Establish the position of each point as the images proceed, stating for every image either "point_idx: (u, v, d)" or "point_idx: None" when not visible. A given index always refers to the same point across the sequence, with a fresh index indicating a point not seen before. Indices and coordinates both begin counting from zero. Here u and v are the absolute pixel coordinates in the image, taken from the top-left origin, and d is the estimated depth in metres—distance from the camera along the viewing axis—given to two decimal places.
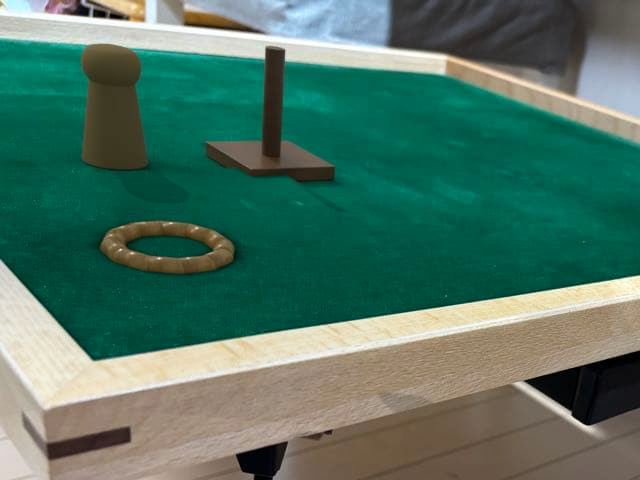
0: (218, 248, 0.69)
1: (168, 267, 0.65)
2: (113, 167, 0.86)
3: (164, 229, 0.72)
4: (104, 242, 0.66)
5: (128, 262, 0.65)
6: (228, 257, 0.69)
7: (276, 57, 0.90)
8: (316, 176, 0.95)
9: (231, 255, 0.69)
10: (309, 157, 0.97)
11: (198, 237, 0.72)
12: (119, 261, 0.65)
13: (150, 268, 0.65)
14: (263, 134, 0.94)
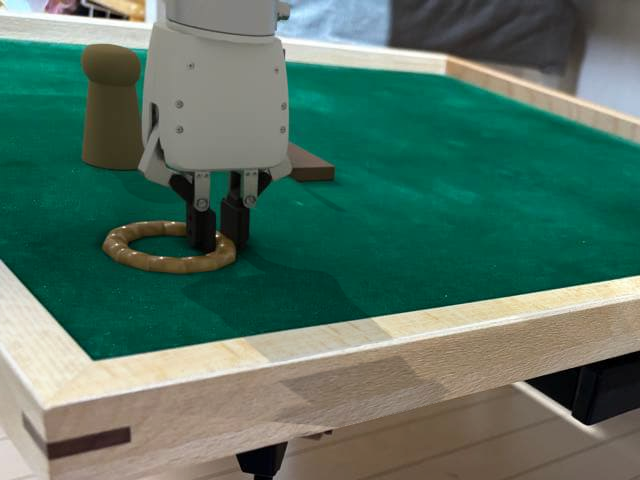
0: (220, 248, 0.69)
1: (170, 267, 0.65)
2: (113, 167, 0.86)
3: (166, 229, 0.72)
4: (106, 242, 0.67)
5: (130, 262, 0.65)
6: (230, 257, 0.69)
7: None
8: (316, 176, 0.95)
9: (233, 255, 0.70)
10: (309, 157, 0.97)
11: None
12: (121, 261, 0.65)
13: (152, 268, 0.65)
14: None
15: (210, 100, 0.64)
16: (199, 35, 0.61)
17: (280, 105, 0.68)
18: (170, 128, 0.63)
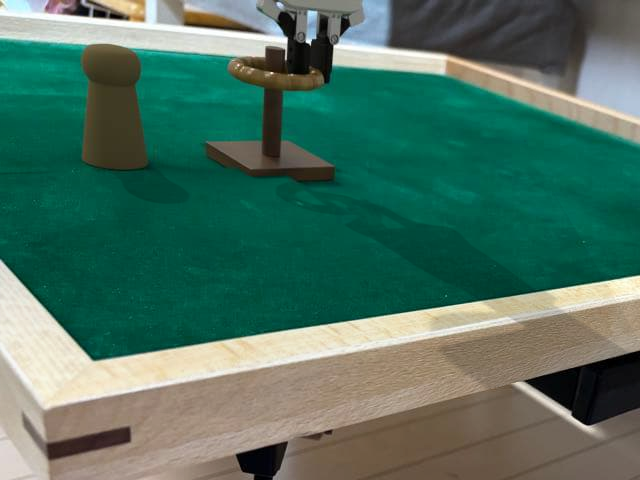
0: (313, 72, 0.92)
1: (280, 79, 0.88)
2: (113, 167, 0.86)
3: None
4: (231, 63, 0.89)
5: (251, 75, 0.88)
6: (321, 79, 0.92)
7: (276, 57, 0.90)
8: (316, 176, 0.95)
9: (323, 78, 0.92)
10: (309, 157, 0.97)
11: None
12: (244, 75, 0.88)
13: (267, 80, 0.88)
14: (263, 134, 0.94)
15: None
16: None
17: None
18: None
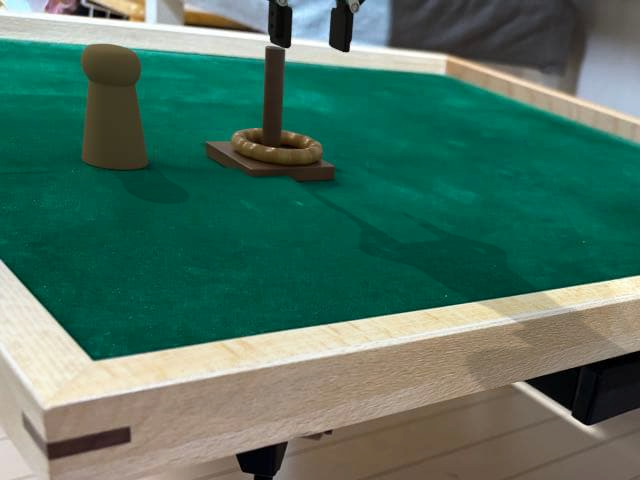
0: (312, 146, 0.96)
1: (281, 154, 0.92)
2: (113, 167, 0.86)
3: None
4: (234, 138, 0.93)
5: (253, 150, 0.92)
6: (320, 152, 0.96)
7: (276, 57, 0.90)
8: (316, 176, 0.95)
9: (322, 151, 0.96)
10: None
11: (296, 140, 0.99)
12: (246, 150, 0.92)
13: (268, 155, 0.92)
14: (263, 134, 0.94)
15: None
16: None
17: None
18: None
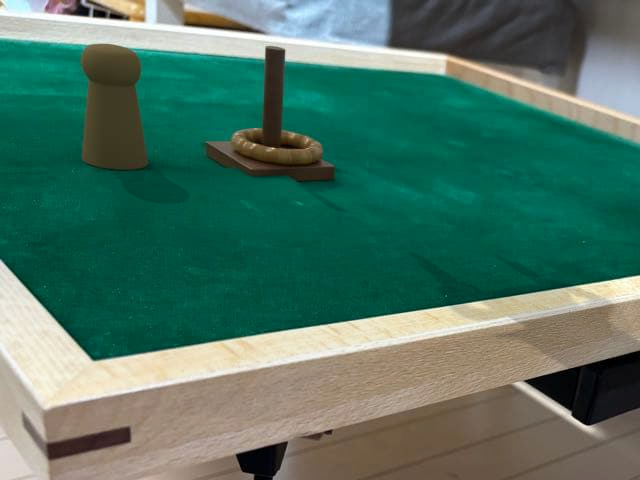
0: (312, 146, 0.96)
1: (281, 154, 0.92)
2: (113, 167, 0.86)
3: None
4: (234, 138, 0.93)
5: (253, 150, 0.92)
6: (320, 152, 0.96)
7: (276, 57, 0.90)
8: (316, 176, 0.95)
9: (322, 151, 0.96)
10: None
11: (296, 140, 0.99)
12: (246, 150, 0.92)
13: (268, 155, 0.92)
14: (263, 134, 0.94)
15: None
16: None
17: None
18: None
